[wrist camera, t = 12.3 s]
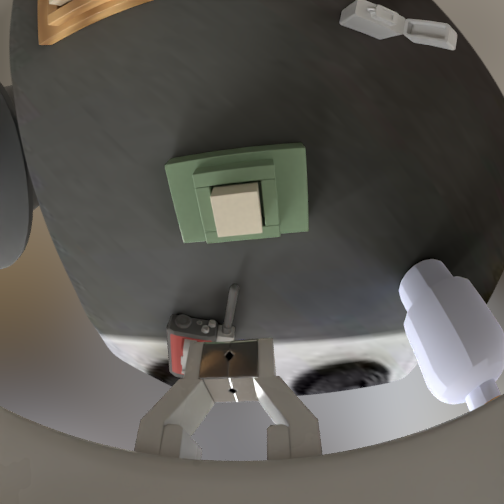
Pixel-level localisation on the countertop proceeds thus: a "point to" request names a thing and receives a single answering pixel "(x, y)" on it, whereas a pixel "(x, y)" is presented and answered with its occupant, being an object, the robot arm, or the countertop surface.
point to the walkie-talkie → (197, 333)
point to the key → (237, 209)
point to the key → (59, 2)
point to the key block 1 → (75, 16)
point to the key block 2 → (239, 172)
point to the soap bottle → (452, 335)
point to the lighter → (396, 25)
